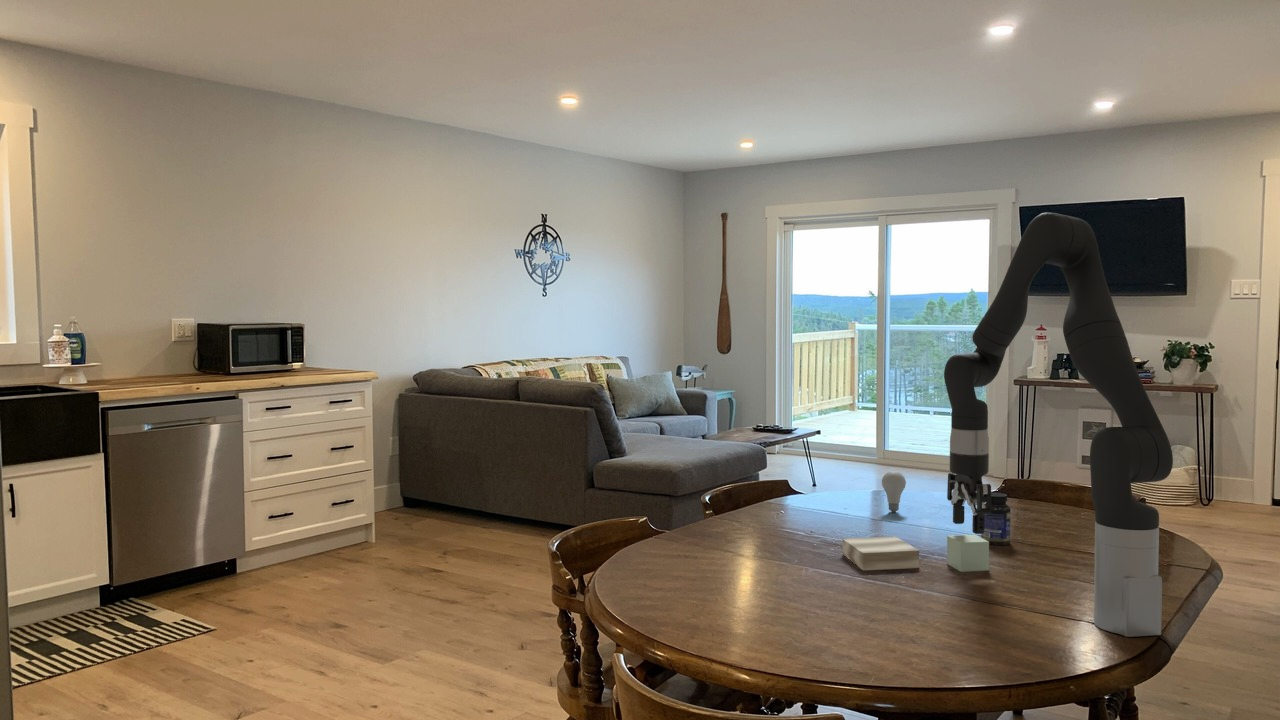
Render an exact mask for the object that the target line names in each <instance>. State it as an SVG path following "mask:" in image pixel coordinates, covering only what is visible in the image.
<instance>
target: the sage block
mask: <svg viewBox="0 0 1280 720" xmlns="http://www.w3.org/2000/svg"><path fill="white" fill-rule="evenodd" d="M946 544H947V545H946V564H947V565H948V566H950V567H952V568H953V569H955V570H957V571H959V572H960V573H962V572H963V573H964V572H980V571H981V572H983V571H986V572H987V571H989V569H990V565H989V563H990V560H989V559H990V544H989V541H987V540H985V539H983V538H982V537H981V536H978V535H977V534H957V535H956V534H955V535H947V536H946Z"/></svg>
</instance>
